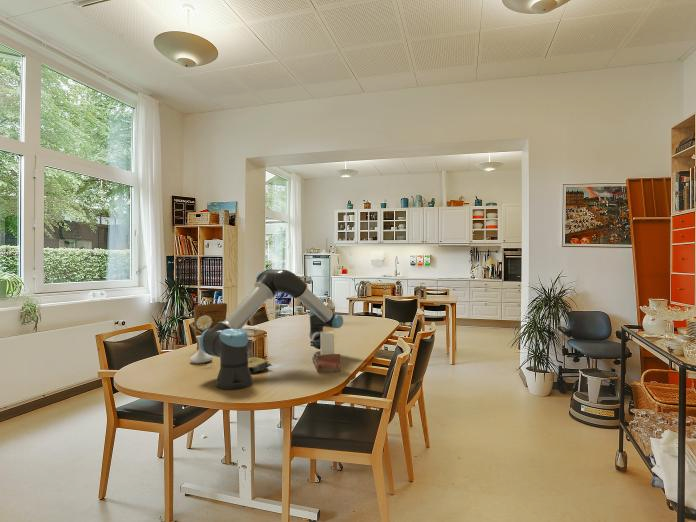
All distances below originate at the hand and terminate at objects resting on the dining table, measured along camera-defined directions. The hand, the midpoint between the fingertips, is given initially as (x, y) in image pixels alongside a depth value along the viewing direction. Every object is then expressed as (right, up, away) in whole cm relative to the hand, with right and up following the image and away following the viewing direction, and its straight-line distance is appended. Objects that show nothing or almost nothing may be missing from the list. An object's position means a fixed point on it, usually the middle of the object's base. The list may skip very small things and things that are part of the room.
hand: (327, 349), depth 203 cm
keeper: (0, -7, -3) cm, 7 cm away
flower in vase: (-67, -10, +13) cm, 69 cm away
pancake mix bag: (-72, -9, +42) cm, 84 cm away
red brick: (-1, -9, +4) cm, 10 cm away
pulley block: (-41, -10, +2) cm, 42 cm away
